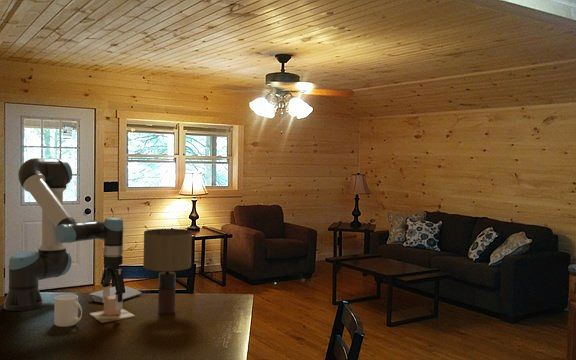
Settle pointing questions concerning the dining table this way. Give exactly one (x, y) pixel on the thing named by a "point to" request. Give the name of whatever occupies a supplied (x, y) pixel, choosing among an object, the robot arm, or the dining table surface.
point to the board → (105, 318)
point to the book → (128, 293)
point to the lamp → (167, 261)
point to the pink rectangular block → (110, 306)
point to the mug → (66, 310)
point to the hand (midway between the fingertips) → (112, 305)
